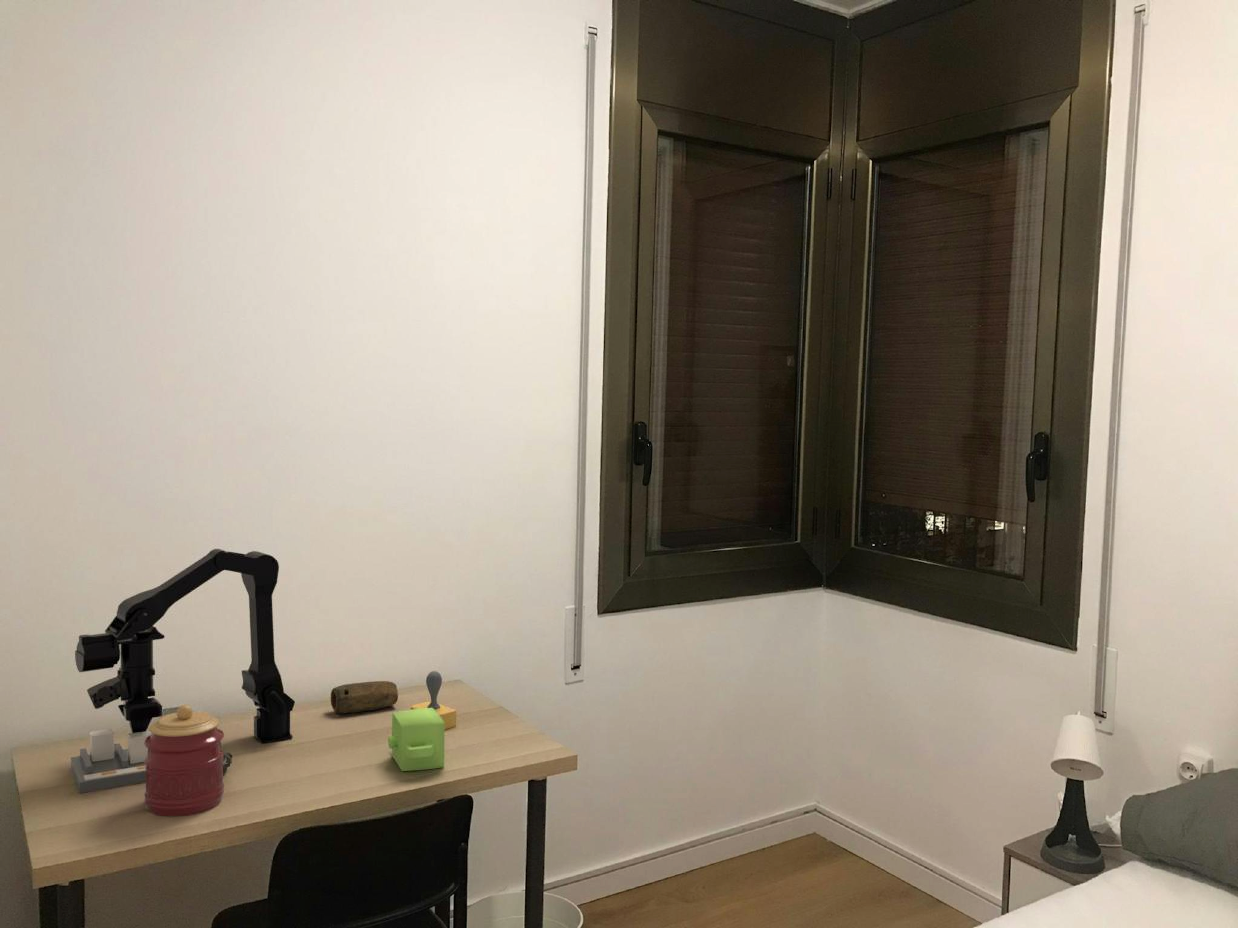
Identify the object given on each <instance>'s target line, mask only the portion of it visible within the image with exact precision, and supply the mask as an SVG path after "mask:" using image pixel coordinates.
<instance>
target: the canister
mask: <svg viewBox="0 0 1238 928" xmlns="http://www.w3.org/2000/svg"><path fill="white" fill-rule="evenodd" d="M219 723H220V722H219V719H218V718H217V717H215V716H212V715H210V713H208V712H205V711H199V710H193V708H192V707H191V706H190V705H188V704H182V705H180V706H179V707H178V708H177V710H176V712H172V713H169V714H165V715H162V716H160V717H159V719H158V720H156V721H155V722H153V723H152V724H150V725H149V731H150V733H151V735H150V736H148V737H147V738H146V739H145V741H144V744H145V746H146V747H147V748H148V754H147V757H146V758H145V764H146V782H145V792H144V803H145V805H146V806H145V807H146V810H147V811H148V812H150V813H152V814H155V815H157V816H158V815H159V816H167V817H177V816H180V817H181V816H186V815H187V816H189V815H193V814H198V813H202V812H204V811H207V809H208V810H209V809H212V808H214V807H215V806H217V805H219V804H220V803H221V802H222V800H223V794H224V791H225V789H224V787H225V784H224V755H225V754H224V753H225V752H224V750H223V748H222V745H221V743H222V740H223V738H224V736H225V734H224V733H225V732H224V731H223V730H222V729H220V728H218V725H219Z"/></svg>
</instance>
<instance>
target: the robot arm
mask: <svg viewBox="0 0 1238 928" xmlns="http://www.w3.org/2000/svg"><path fill="white" fill-rule="evenodd" d="M279 569H280V565H279V561H278V560H277V559H276V558H275V557H274V556H273V555H270V554H267V553H264V552H260V551H257V550H253V551H249V552H247V553H239V552H234V551H227V550H224V549H220V548H214V549H212V550H210V551H209V552H208V553H207V554H206V555H205V556H203V557H201V558H200V559H198V560H197V561H195V562H194V563H192V564H190V565H189V566H188V567H186V568H184V569H183V570H181V571H180V572H178V573H177V574H175V575H173V577H171V578H169V579H168V580H166V581H164V582H163V583H162V584H160V585H158V586H156V587H154V588H152V589H148V590H145V591H142V592H139V593H136V594H135V595H132V596H130V597H128V598H126V599H124V600H123V601H122V602H120V603H119V604H118V606H117V611H116V615H115V617H114V618H113V620H111V622H110V623H109V625H108V626H107V627H106V629H105V630H104V633H96V634H80V635H79V636H78V642H77V644H76V649H75V651H74V658H75V659H74V661H75V665H76V669H77V670H78V672H79V673H86V672H92V671H99V670H105V669H113V668H114V667H115V665H118V663H119V661H120V667H119V668H118V670H117V671H116V672H117V676H115V677H112V678H109V679H107V680H104V681H102V682H100V683H97V684H95V685H92V686H91V687H89V688H87V690H86V691H87V693H88V694H87V695H88V697H89V698H90V701H91V702H92V706H93V708H94V709H95V710H98V709H100V708H103V707H104V706H105V705H107V704H110V703H112V702H114V701H117V700H120V701H121V702H122V704H119V705H118V706H117V708H118V709H119V711H120V713H121V715H122V716H123V717H124V719H125V721H127V722H128V723H129V726H130V727H129V728H130V732H131V733H137V732H143V731H148V728H149V727H150V725H151V721H152V720H153V719H154V718H161V717H163V705H162V703H161V701H159V700H158V699H157V698H156V690H155V688H154V676H155V675H156V670H155V668H154V641H157V640H163V639H165V638H166V637H165V635H164V634H163V633H161V632H160V631H159V630H158V629H157V627H155V626H154V625H156V624H157V623H158V622H159V621H160V620H161V619H162V618H163V617H164V616H165V615H166V613H167V612H168V610H169V609H170V608H171V607H172V606H173V605H174V604H175V603H177V602H178V601H180V600H182V598H185V597H186V596H188V595H189V594H190V593H191V592H193V591H195V590H197V588H199V587H200V586H202V585H203V584H205V583H207V582H208V581H210V580H211V579H212V578H214V577H216V576H217V575H218V574H220V573H222V572H224V571H228V572H234V573H239V574H241V575H240V576H241V579H242V583H243V585H244V588H245V591H246V592H247V595H248V607H249V608H248V609H249V629H250V635H249V636H250V655H251V657H250V658H251V662H250V665H249V667H248V669H246V670H244V669H243V670H241V676H242V684H241V689H242V691H243V690H244V693H245V695H246V696H247V697H248V698H249V699H250V700H252V702H253V704H254V706H255V707H257V708H256V715H254V716H253V736H255V738H256V739H257V740H258V741H259V742H260V743H261V744H265V743H272V742H278V741H284V740H289V739H293V734H292V733H291V712H293V709H294V707H295V703H296V701H295V700H294V699H293V698H291V696H289V695H288V694H287V693H285V689H284V684H283V681H282V675H281V673H280V671H279V668H278V666H277V664H276V661H275V659H276V658H275V643H274V642H275V638H274V636H275V635H274V634H275V633H274V615H273V614H274V613H273V594H274V591H275V590H276V586H277V584H278V578H279V577H278V576H279ZM119 698H120V699H119Z"/></svg>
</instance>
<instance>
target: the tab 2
mask: <svg viewBox="0 0 1238 928" xmlns="http://www.w3.org/2000/svg"><path fill="white" fill-rule="evenodd" d="M151 734H152V733H151V732H150V730H146V731H143V732H137V733H132V732H131V733H127V749H128V760H129V762H130V764H134V763H140V762H145V758H146V757H147V754H148V748H147V747H146V746H145V744H144V741H145V739H146V738H147V737H148V736H150V735H151Z"/></svg>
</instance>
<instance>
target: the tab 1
mask: <svg viewBox="0 0 1238 928" xmlns="http://www.w3.org/2000/svg"><path fill="white" fill-rule="evenodd" d="M114 744H115V732H114V730H113V729H112V728H109V729H101V730H93V731H89V755H90V758H91V761H92V762H96V761H102V760H108V759H114Z"/></svg>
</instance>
